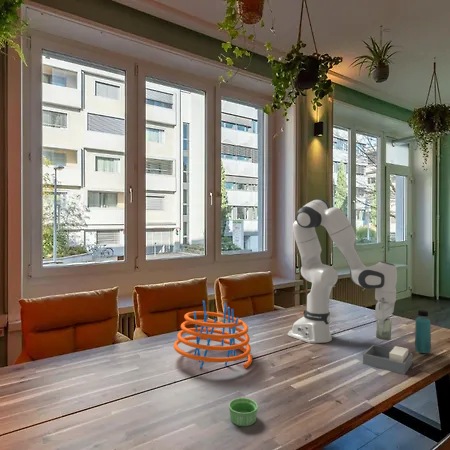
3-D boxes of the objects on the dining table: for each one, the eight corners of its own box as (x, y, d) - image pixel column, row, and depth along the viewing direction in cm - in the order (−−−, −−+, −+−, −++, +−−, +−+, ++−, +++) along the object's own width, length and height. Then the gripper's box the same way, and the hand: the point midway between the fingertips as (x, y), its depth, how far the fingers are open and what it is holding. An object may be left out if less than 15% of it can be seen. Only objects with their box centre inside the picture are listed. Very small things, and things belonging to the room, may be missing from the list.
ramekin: (232, 409, 114) (233, 395, 113) (260, 413, 111) (260, 400, 111) (225, 424, 105) (225, 410, 105) (254, 430, 102) (254, 415, 102)
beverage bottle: (433, 357, 157) (434, 313, 156) (417, 355, 158) (417, 312, 158) (427, 351, 163) (428, 309, 163) (412, 350, 165) (413, 308, 164)
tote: (362, 365, 147) (363, 353, 147) (372, 355, 158) (373, 344, 158) (404, 376, 137) (404, 364, 137) (412, 365, 148) (412, 353, 148)
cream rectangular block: (389, 368, 143) (389, 352, 143) (395, 360, 151) (395, 345, 150) (402, 372, 140) (402, 356, 139) (408, 364, 147) (408, 348, 147)
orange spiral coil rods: (204, 341, 177) (209, 295, 177) (265, 363, 157) (271, 310, 158) (155, 358, 148) (162, 302, 149) (222, 387, 129) (230, 322, 129)
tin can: (374, 337, 162) (375, 319, 162) (378, 334, 167) (379, 317, 167) (388, 341, 158) (389, 322, 158) (392, 338, 163) (393, 320, 163)
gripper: (387, 301, 152) (385, 332, 153) (397, 294, 169) (395, 323, 169) (372, 298, 156) (370, 329, 157) (383, 292, 173) (382, 320, 173)
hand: (383, 326), depth 163 cm, fingers closed on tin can, 6 cm apart
